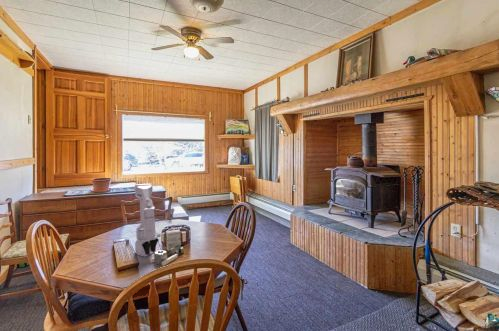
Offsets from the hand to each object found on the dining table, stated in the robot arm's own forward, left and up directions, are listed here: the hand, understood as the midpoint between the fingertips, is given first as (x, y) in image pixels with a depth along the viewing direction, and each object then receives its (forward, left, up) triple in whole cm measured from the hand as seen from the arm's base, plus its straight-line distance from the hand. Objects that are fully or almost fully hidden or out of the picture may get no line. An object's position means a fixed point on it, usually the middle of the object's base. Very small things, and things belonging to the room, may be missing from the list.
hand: (150, 253), depth 145 cm
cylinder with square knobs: (0, +21, -8) cm, 23 cm away
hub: (0, +8, -8) cm, 12 cm away
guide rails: (0, +11, -8) cm, 14 cm away
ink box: (-6, +27, -9) cm, 29 cm away
